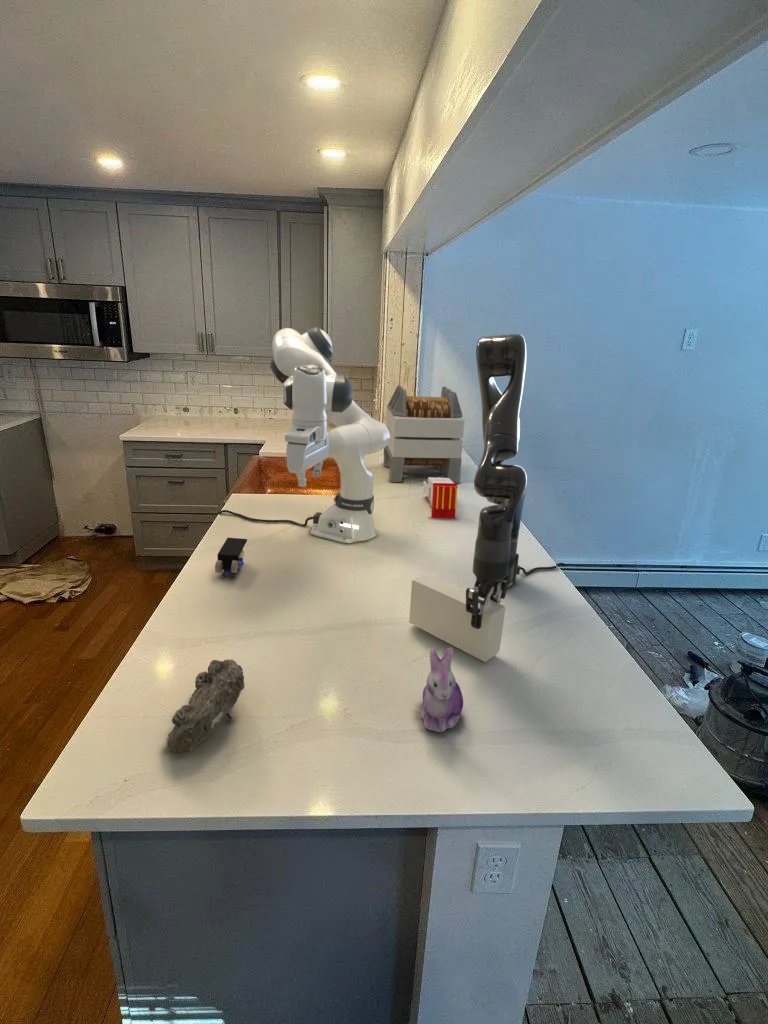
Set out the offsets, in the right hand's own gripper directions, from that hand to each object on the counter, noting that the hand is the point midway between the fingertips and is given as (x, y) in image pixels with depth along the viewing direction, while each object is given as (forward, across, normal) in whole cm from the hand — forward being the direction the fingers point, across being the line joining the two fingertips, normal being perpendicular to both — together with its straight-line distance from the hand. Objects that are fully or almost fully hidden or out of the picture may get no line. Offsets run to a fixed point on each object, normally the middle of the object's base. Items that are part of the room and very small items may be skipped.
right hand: (483, 622), depth 128 cm
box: (+8, 0, +8) cm, 11 cm away
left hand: (-22, -6, +54) cm, 58 cm away
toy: (+9, +75, +72) cm, 105 cm away
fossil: (+9, -55, +24) cm, 61 cm away
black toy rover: (+9, -17, +76) cm, 79 cm away
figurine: (+9, -23, -7) cm, 26 cm away
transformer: (+9, +107, +109) cm, 153 cm away
